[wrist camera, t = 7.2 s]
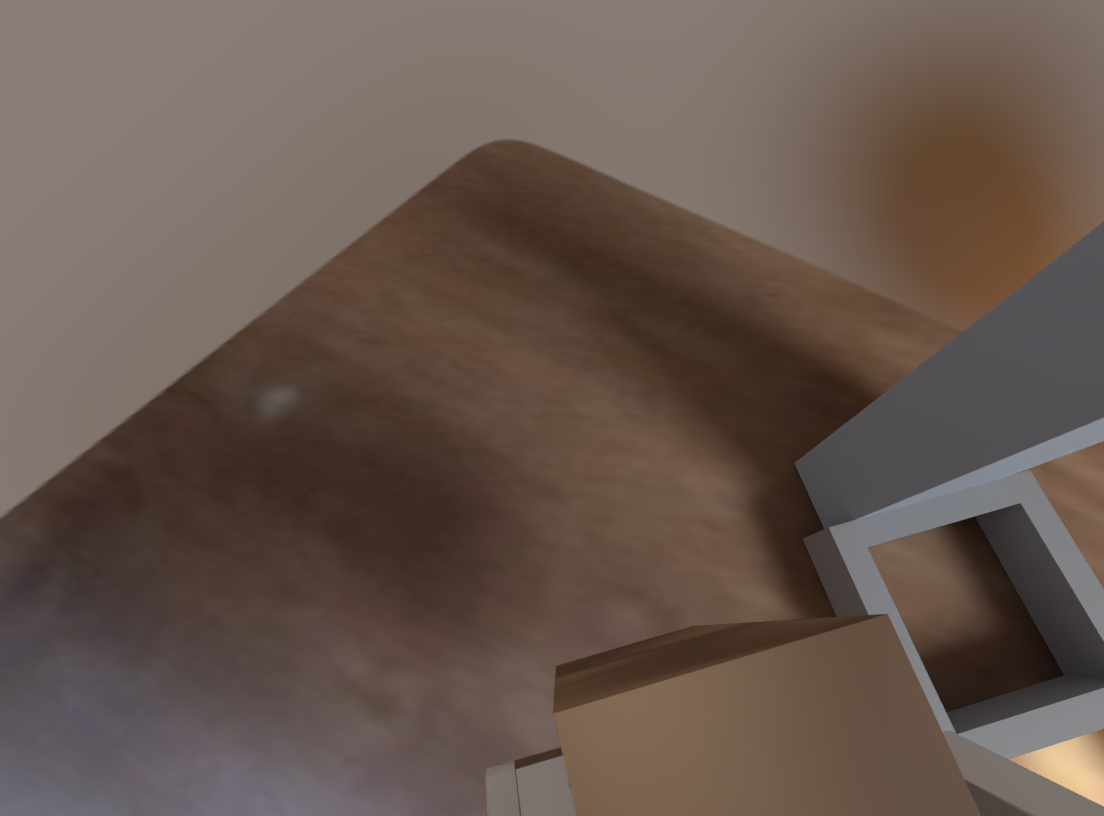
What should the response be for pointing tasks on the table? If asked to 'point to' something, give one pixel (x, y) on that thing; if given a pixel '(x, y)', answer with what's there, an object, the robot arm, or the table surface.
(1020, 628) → the table surface
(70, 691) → the table surface
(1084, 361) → the grey tower with tray
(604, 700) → the wooden square post
